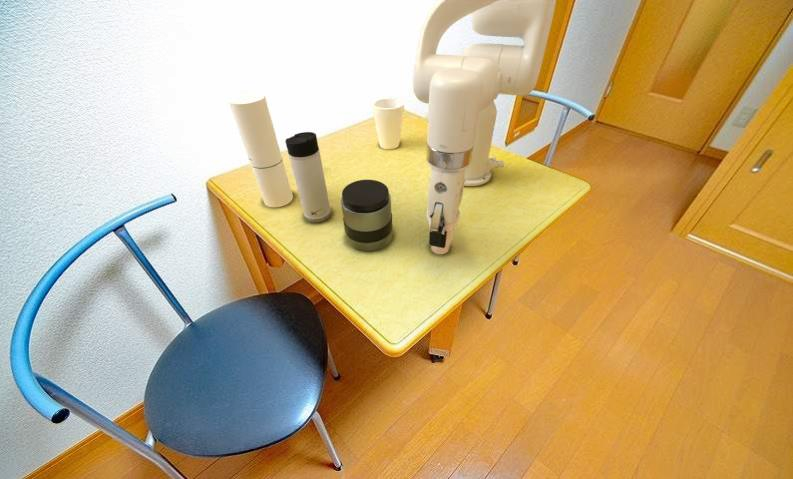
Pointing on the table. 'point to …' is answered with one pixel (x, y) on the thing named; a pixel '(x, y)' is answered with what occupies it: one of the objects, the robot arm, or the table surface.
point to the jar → (367, 215)
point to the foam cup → (388, 121)
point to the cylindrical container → (261, 147)
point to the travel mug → (309, 176)
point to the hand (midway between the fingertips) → (441, 234)
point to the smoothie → (450, 230)
